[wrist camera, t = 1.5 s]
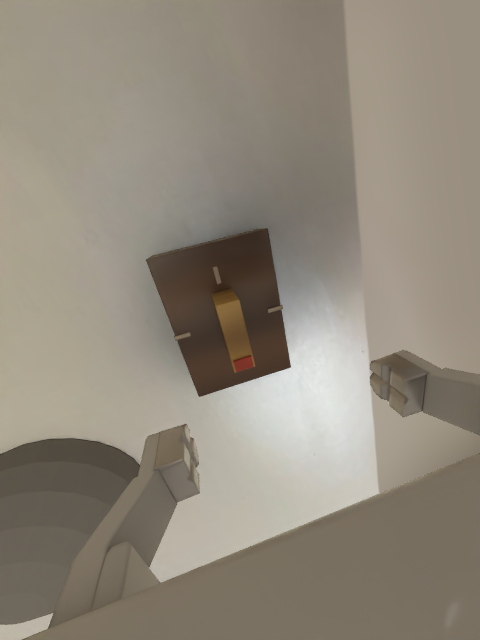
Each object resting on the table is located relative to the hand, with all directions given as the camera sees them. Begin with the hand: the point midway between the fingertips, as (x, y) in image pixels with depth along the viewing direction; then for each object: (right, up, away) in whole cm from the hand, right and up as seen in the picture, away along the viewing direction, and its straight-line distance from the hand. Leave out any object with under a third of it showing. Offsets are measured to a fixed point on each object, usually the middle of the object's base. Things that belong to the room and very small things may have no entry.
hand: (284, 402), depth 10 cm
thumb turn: (-3, +3, +11) cm, 12 cm away
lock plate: (-3, +4, +14) cm, 15 cm away
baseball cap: (-26, -20, +19) cm, 38 cm away
